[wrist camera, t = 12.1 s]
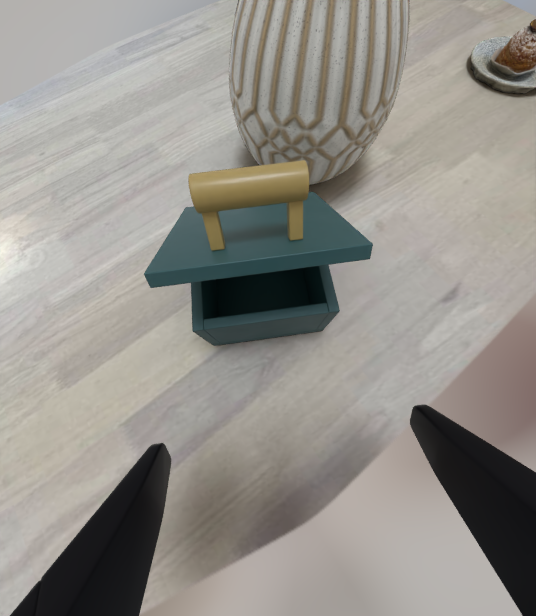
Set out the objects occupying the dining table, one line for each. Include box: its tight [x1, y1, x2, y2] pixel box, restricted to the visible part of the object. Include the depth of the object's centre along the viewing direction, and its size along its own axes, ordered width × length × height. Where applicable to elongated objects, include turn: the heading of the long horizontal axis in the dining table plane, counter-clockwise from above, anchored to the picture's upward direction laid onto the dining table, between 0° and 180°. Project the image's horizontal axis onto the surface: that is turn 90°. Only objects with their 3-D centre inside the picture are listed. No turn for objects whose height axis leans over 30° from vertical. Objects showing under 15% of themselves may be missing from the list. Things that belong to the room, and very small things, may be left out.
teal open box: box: [191, 265, 340, 346], centre depth 21 cm, size 10×11×6 cm
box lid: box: [144, 160, 373, 288], centre depth 14 cm, size 11×11×4 cm
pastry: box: [471, 19, 536, 93], centre depth 32 cm, size 12×12×5 cm
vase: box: [229, 0, 410, 184], centre depth 20 cm, size 16×16×20 cm
